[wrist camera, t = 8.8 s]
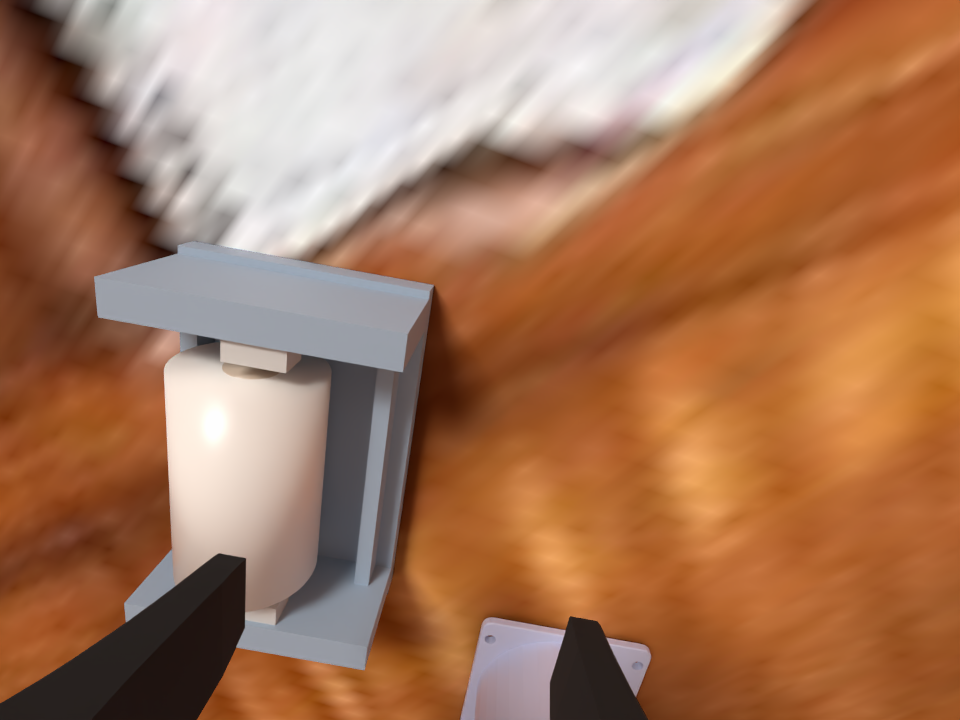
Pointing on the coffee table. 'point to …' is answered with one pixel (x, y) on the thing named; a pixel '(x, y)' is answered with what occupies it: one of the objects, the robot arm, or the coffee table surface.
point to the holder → (351, 419)
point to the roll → (246, 467)
